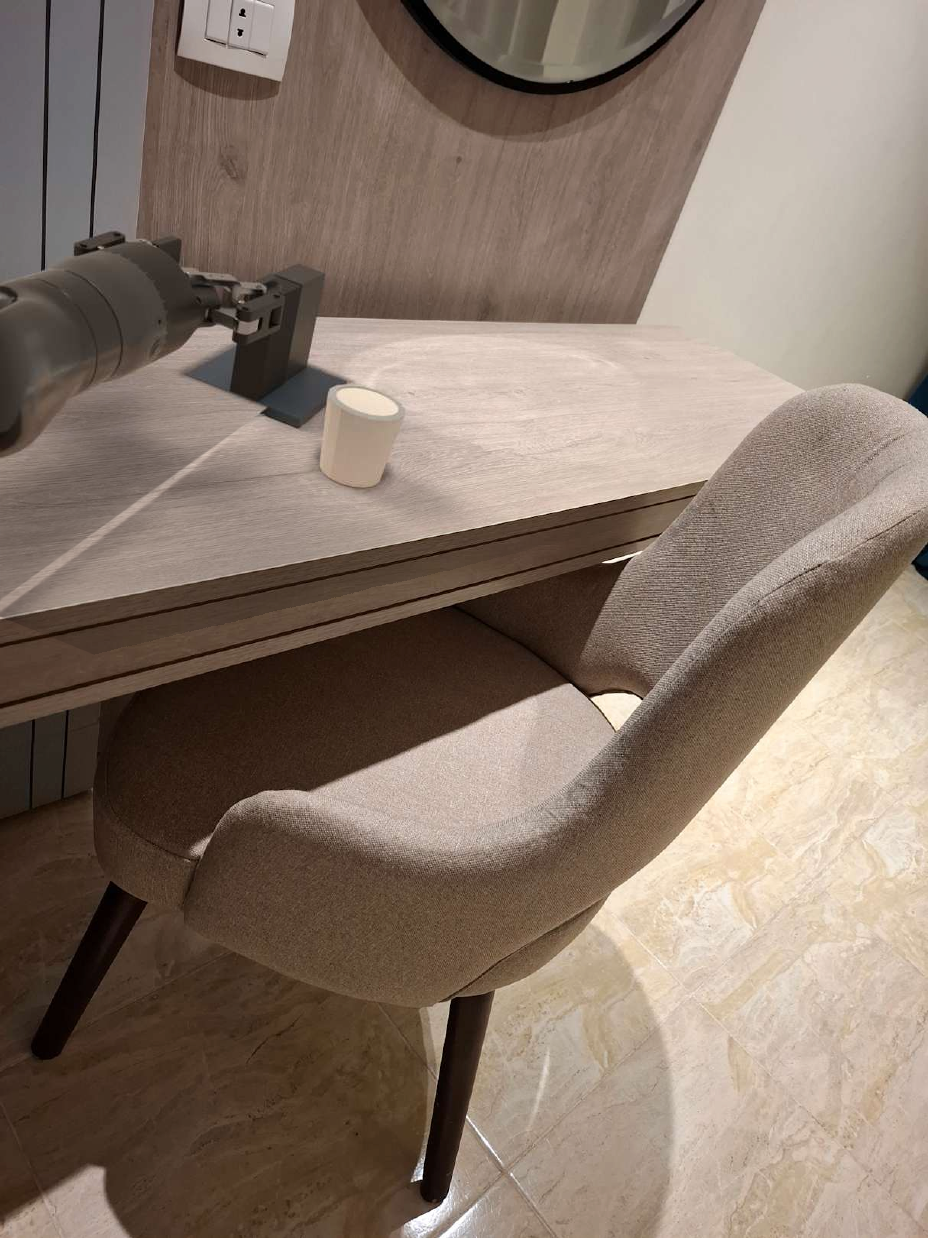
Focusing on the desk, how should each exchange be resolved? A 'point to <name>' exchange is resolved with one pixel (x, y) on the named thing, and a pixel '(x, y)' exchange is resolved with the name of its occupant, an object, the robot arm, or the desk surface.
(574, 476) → the desk surface
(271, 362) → the block
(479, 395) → the desk surface
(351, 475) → the shot glass
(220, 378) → the dock
